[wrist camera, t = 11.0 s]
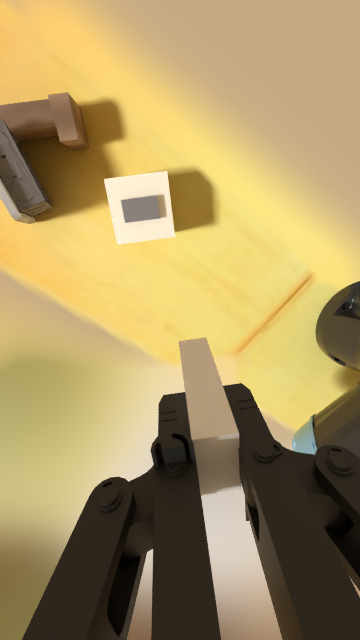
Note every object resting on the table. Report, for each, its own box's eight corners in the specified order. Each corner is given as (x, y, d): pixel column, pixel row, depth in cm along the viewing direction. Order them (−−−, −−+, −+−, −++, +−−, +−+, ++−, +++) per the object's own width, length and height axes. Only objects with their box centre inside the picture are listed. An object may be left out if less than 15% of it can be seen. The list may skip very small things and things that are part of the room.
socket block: (173, 232, 37) (175, 237, 31) (123, 238, 37) (116, 245, 31) (166, 176, 34) (167, 170, 28) (113, 183, 34) (102, 178, 28)
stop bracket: (89, 147, 32) (78, 139, 28) (-49, 165, 32) (-80, 159, 28) (80, 107, 31) (67, 92, 27) (-66, 126, 31) (-101, 113, 26)
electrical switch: (-13, 147, 32) (-66, 123, 23) (27, 132, 32) (-12, 101, 23) (31, 224, 36) (-2, 227, 27) (67, 210, 36) (46, 209, 27)
